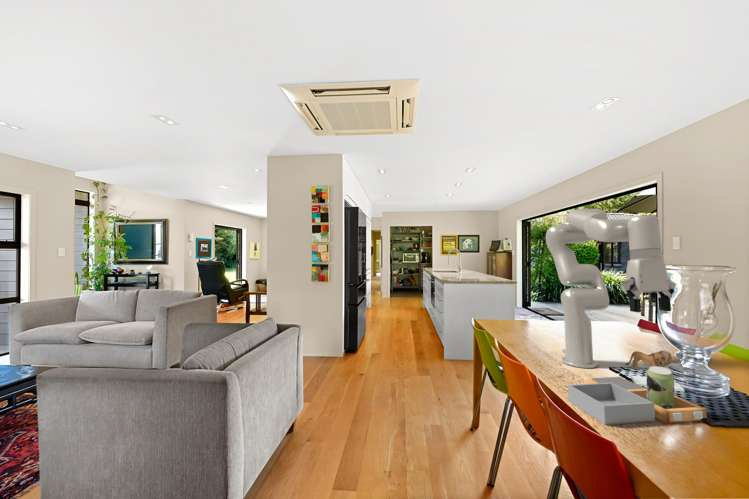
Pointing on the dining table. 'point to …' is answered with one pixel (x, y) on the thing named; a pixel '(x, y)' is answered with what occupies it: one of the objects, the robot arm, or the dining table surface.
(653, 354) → the lion figurine
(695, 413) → the case
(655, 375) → the beverage can
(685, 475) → the dining table surface
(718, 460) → the dining table surface
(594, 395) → the parts bin
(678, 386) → the hard drive
